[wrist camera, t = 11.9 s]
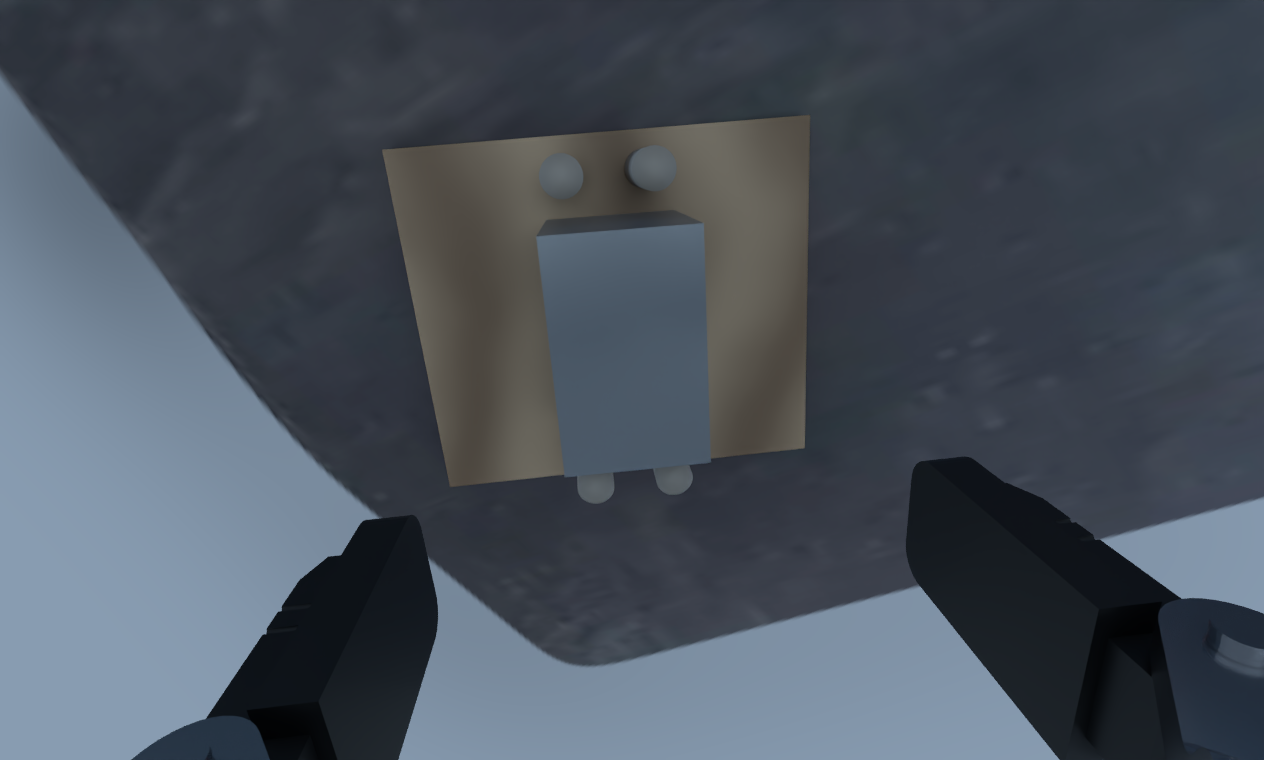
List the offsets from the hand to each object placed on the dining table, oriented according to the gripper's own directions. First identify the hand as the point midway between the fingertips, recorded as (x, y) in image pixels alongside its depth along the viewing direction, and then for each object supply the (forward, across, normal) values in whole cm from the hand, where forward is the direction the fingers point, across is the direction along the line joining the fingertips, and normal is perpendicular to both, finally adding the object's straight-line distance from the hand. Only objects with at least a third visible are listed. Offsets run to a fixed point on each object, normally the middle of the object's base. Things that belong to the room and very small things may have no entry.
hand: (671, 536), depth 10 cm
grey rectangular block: (+16, 0, 0) cm, 16 cm away
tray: (+17, 0, 0) cm, 17 cm away
